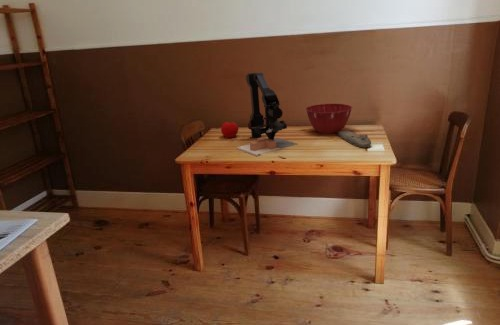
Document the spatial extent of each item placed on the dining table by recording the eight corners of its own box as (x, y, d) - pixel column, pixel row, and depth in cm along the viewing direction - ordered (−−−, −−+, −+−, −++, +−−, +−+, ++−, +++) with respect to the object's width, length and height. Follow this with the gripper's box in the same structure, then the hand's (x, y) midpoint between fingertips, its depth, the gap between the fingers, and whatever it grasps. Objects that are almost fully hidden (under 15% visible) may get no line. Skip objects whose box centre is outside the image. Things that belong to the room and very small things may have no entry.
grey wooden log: (349, 135, 240) (333, 138, 238) (348, 127, 238) (333, 129, 237) (376, 146, 206) (359, 149, 205) (376, 137, 205) (358, 140, 203)
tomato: (218, 139, 243) (217, 123, 240) (225, 134, 255) (224, 119, 252) (235, 139, 240) (234, 123, 237) (241, 134, 251) (240, 119, 248)
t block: (246, 148, 216) (245, 141, 215) (263, 143, 223) (262, 137, 221) (258, 152, 207) (258, 145, 205) (276, 147, 213) (276, 140, 212)
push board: (236, 148, 219) (236, 147, 219) (277, 139, 234) (277, 137, 234) (256, 156, 203) (256, 154, 203) (298, 145, 218) (298, 144, 218)
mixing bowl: (339, 139, 227) (340, 113, 222) (297, 134, 244) (297, 110, 239) (358, 128, 248) (359, 104, 243) (318, 125, 265) (318, 102, 260)
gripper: (265, 120, 202) (266, 149, 207) (292, 114, 212) (293, 142, 217) (253, 117, 211) (255, 145, 216) (280, 112, 221) (281, 138, 226)
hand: (271, 142), depth 218 cm, fingers closed
